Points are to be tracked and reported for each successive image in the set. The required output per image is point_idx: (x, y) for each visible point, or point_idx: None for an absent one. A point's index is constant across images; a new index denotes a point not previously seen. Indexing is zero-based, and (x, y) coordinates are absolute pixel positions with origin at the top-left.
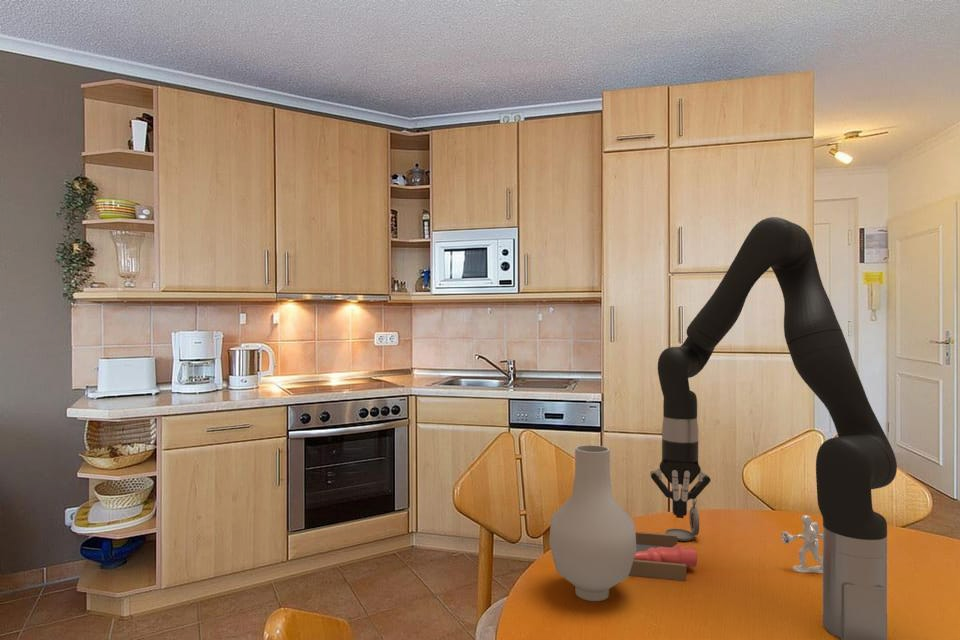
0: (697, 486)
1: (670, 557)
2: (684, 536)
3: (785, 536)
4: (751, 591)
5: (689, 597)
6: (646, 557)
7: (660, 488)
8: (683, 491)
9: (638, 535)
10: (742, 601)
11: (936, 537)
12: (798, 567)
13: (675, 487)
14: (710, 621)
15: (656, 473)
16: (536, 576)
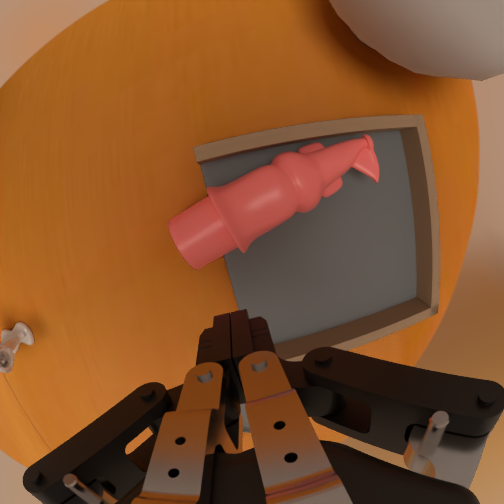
0: (109, 452)
1: (246, 176)
2: (245, 413)
3: (2, 360)
4: (62, 177)
5: (182, 67)
6: (316, 153)
7: (390, 367)
8: (208, 409)
9: (352, 334)
10: (77, 114)
11: (4, 452)
12: (21, 331)
13: (275, 408)
14: (141, 4)
15: (469, 444)
16: (465, 79)
